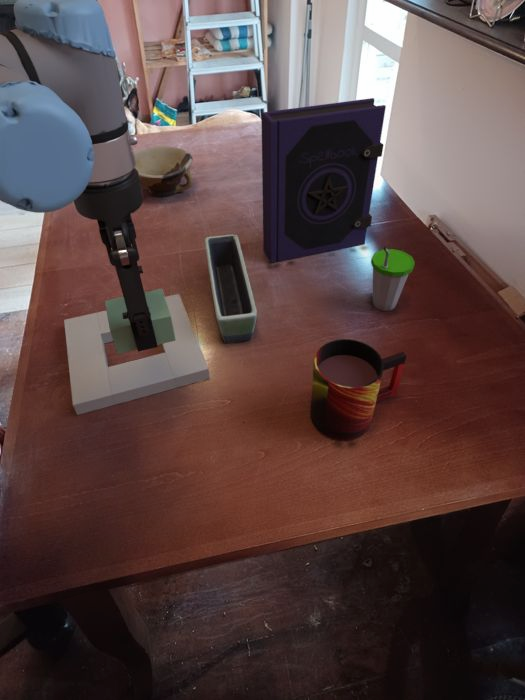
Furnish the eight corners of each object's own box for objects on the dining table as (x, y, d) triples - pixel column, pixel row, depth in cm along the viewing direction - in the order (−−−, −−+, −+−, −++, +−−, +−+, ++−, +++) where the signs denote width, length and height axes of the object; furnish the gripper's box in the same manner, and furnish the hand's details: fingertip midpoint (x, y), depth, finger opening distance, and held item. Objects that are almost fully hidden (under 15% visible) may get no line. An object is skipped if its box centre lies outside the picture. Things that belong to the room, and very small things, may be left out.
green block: (117, 354, 65) (109, 329, 61) (112, 324, 69) (104, 300, 66) (175, 340, 66) (171, 315, 63) (166, 312, 71) (161, 288, 68)
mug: (396, 397, 78) (411, 343, 69) (349, 452, 70) (359, 399, 62) (346, 369, 82) (355, 316, 74) (297, 418, 75) (300, 365, 67)
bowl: (119, 203, 128) (111, 168, 121) (150, 175, 140) (143, 141, 133) (180, 211, 124) (174, 176, 117) (205, 181, 136) (202, 148, 129)
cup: (392, 289, 99) (407, 223, 88) (411, 312, 93) (428, 245, 83) (358, 296, 97) (368, 230, 87) (374, 320, 92) (387, 253, 81)
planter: (259, 344, 87) (258, 314, 82) (219, 350, 86) (216, 319, 81) (239, 261, 107) (237, 233, 102) (207, 265, 106) (203, 236, 101)
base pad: (77, 415, 76) (72, 405, 74) (67, 329, 91) (63, 319, 89) (210, 378, 81) (208, 368, 80) (180, 303, 96) (178, 293, 94)
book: (271, 264, 106) (271, 122, 85) (262, 249, 110) (260, 111, 89) (367, 245, 111) (389, 106, 90) (355, 231, 115) (373, 96, 94)
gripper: (152, 206, 46) (184, 371, 62) (125, 136, 59) (157, 286, 75) (71, 221, 44) (125, 386, 60) (62, 144, 57) (109, 297, 73)
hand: (143, 330), depth 67 cm, fingers closed on green block, 6 cm apart
